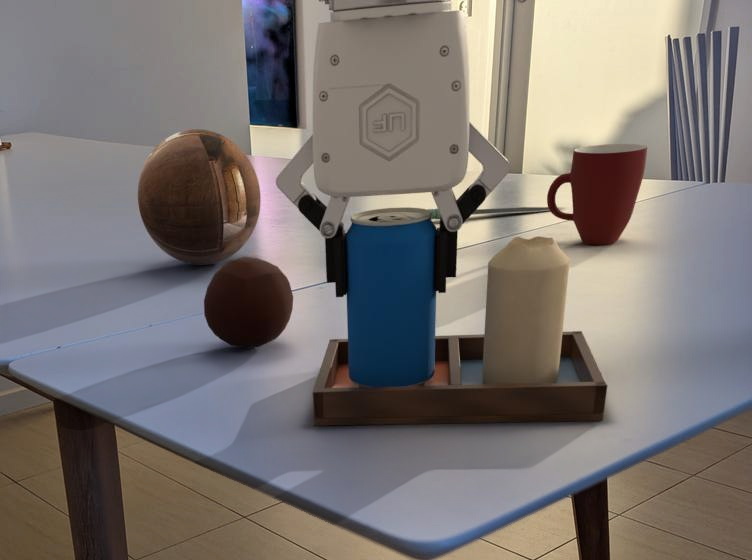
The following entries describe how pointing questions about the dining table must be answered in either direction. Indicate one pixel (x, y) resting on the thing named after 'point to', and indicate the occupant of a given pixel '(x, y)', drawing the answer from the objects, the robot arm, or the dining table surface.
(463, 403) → the sorting tray
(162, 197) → the brown shiny sphere
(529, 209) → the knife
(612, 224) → the mug
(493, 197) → the dining table surface
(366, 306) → the beverage can
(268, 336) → the dark brown ball
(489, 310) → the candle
